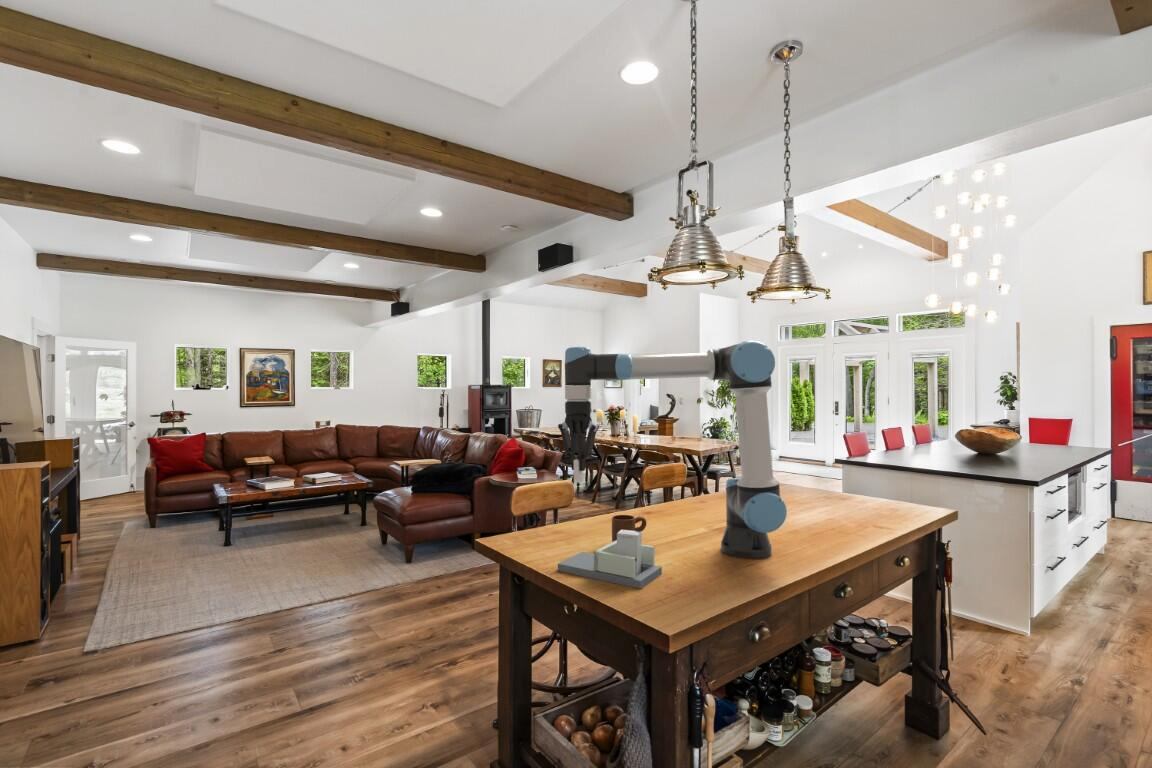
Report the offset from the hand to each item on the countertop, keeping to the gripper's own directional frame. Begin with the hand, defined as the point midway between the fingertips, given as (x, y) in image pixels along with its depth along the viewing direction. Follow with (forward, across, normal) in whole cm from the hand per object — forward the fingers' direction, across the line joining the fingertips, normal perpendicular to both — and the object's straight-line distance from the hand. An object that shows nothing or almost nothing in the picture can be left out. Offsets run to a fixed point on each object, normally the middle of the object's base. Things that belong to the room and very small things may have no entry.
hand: (578, 481), depth 158 cm
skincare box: (+25, -16, 0) cm, 29 cm away
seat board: (+24, -10, 0) cm, 26 cm away
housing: (+22, -15, 0) cm, 27 cm away
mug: (+25, -3, -26) cm, 36 cm away
